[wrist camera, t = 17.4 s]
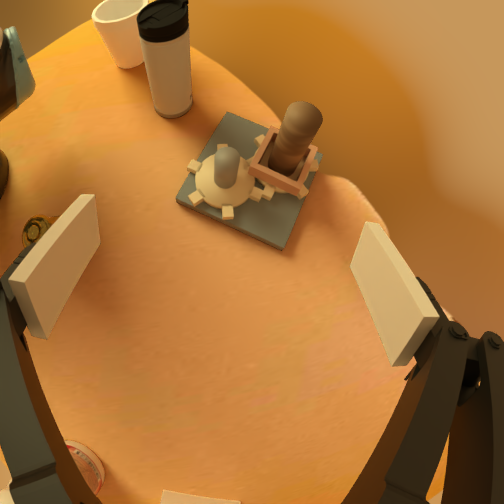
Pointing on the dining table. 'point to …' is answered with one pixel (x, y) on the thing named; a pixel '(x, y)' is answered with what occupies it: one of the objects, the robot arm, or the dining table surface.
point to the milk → (191, 499)
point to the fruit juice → (85, 461)
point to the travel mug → (167, 55)
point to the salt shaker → (36, 228)
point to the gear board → (247, 182)
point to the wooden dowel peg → (294, 137)
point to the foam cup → (120, 30)
